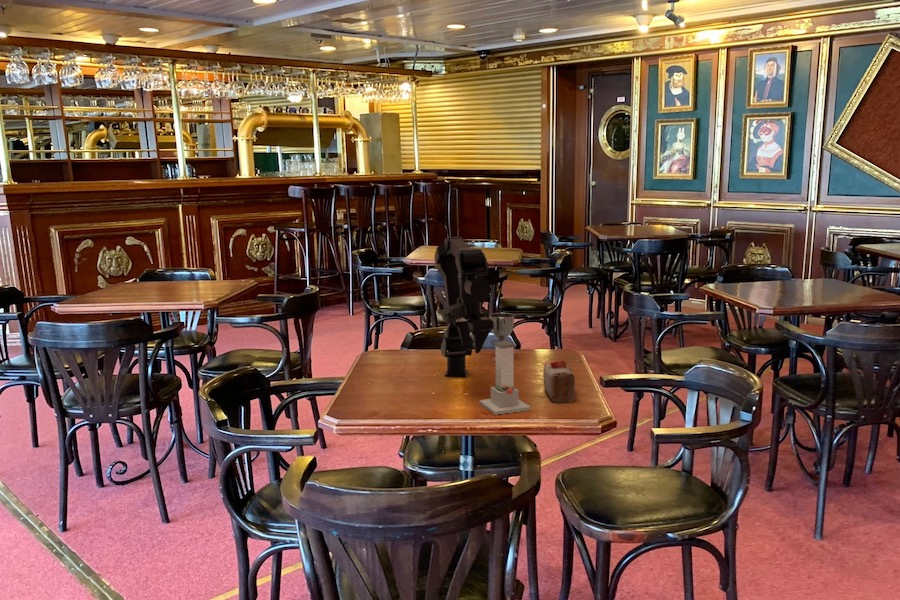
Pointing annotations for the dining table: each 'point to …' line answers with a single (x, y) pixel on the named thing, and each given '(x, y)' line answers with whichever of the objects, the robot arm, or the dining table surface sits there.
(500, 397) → the stand base
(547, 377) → the food item
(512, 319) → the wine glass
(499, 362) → the column
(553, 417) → the dining table surface
